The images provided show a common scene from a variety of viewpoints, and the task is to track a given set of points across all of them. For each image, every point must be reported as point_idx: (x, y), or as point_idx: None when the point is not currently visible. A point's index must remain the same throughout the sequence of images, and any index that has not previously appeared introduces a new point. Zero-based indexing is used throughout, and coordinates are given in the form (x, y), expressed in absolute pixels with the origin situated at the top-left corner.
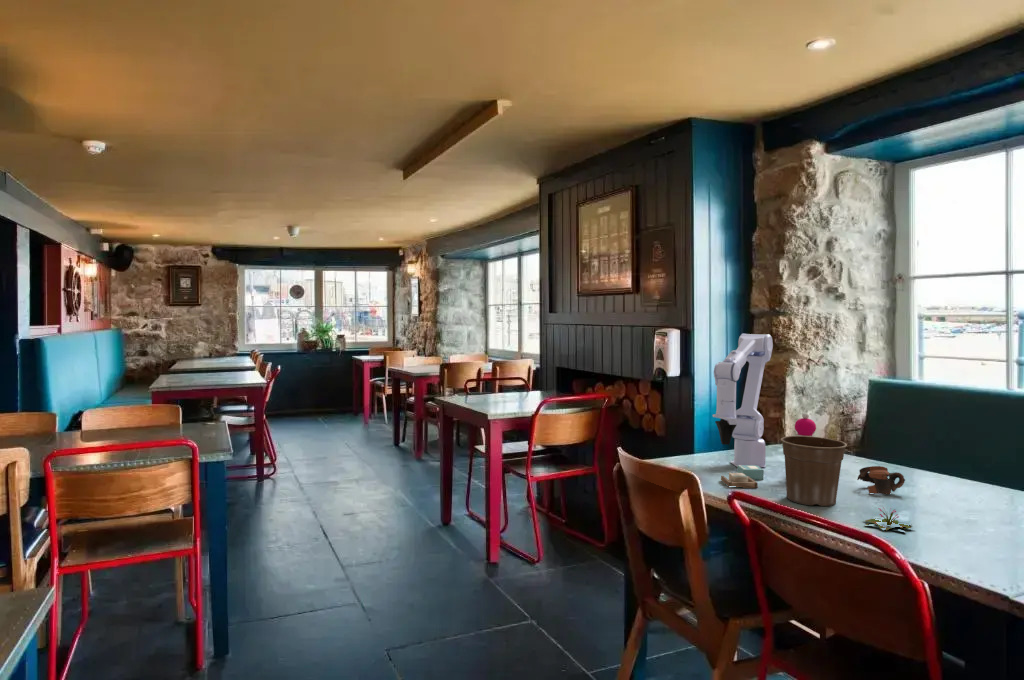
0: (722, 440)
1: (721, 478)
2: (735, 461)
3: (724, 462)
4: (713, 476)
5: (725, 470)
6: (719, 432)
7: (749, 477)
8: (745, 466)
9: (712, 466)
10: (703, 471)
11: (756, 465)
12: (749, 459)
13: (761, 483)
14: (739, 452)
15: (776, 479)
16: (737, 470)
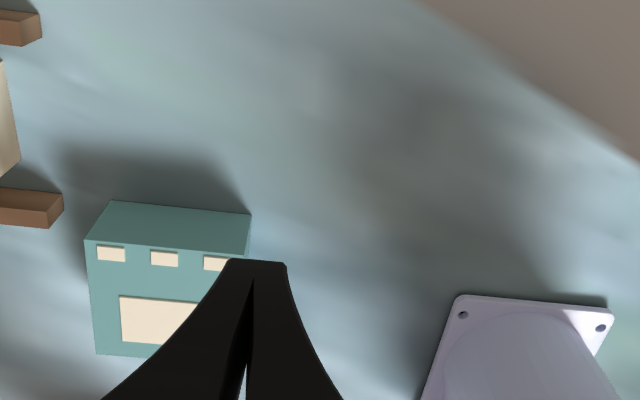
0: (214, 285)
1: (13, 16)
2: (528, 323)
3: (626, 276)
4: (202, 16)
5: (396, 191)
6: (295, 355)
7: (5, 221)
8: (199, 290)
9: (542, 152)
10: (392, 3)
11: None
12: (455, 394)
13: (14, 261)
14: (516, 389)
15: (135, 367)
16: (247, 232)
